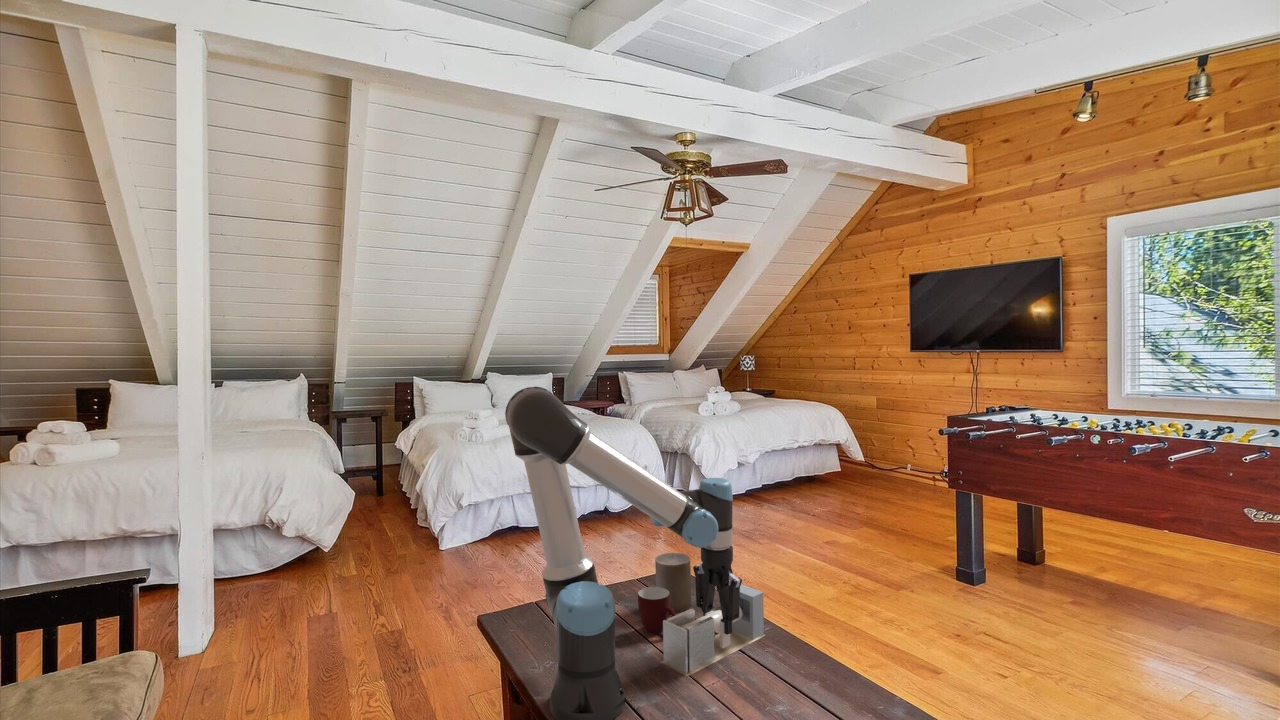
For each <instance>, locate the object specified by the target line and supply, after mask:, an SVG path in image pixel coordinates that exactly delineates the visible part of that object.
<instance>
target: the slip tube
mask: <svg viewBox="0 0 1280 720" xmlns="http://www.w3.org/2000/svg"><path fill="white" fill-rule="evenodd" d="M713 611H714V612H712V613H710V614H708V615H705V616H703V615H702V616H701V617H698V618H695V620H694V621H692V622H690V623H687V624H685V625H683V626H681V628H683V629H685V630H686V628H687V627H689V626H691V625H693V624H696V623H698V622H700V621H702V620H704V619H707V618H709V617H712V618H714V632H715V633H716V632H717V631H718V630H719V631H720V619H723V618H722V611H721V605H719V606H717V607H715V608H714V610H713ZM741 618H742V610H741V608H740V610H739V618H737V619H735V620H733V621H732V625H733V623H734V622H736V621H738V620H740V619H741Z"/></svg>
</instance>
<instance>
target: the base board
mask: <svg viewBox="0 0 1280 720" xmlns="http://www.w3.org/2000/svg"><path fill="white" fill-rule="evenodd" d="M764 637H766V634H763V635H761V636H759V637H757V638H756V639H754V640H753V639H751V638H748V637H746V636H744V635H742V634H739V633H737V632H735V631H732V633H730V645H729V646H727V647H725V648H721V647H720V633H718V634H715V638H714V660H713V661H711V662H709V663H707V664H706V665H704V666H702V667H700V668H698V669H696V670H694V671H692V672H690V673H689V672H688V674H686V675H685V674H684V673H682V672H680V671H678V670H676V669H674V668H672V667H671V666H669V665H667V664H665V663H664V660H662V661H660V663H661V664H663V665H665V666H667V667H669V668H670V669H672V670H674V671H676V672H677V673H679V674H681V675H683V676H685V677H689V676H692V675H693V674H695V673H698V672H699V671H701V670H703V669H705V668H708V667H709V666H711V665H712V664H714V663H716V662H719V661H720V660H721V659H723V658H726V657H727V656H730V655H731V654H733V653H735V652H737V651H739V650H741V649H742V648H745V647H747V646H749V645H750V644H752V643H755V642H756V641H758V640H761V639H762V638H764Z"/></svg>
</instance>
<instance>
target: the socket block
mask: <svg viewBox="0 0 1280 720" xmlns="http://www.w3.org/2000/svg"><path fill="white" fill-rule="evenodd" d="M740 608H741V610H742V618H741V619H740V620H738V621H736V622H734V623H733V625H732V631H735V632H737V633H739V634H742V635H744V636H746V637H748V638H751V639H753V640H754V639H756V638H757V637H759V636H761V635H763V634H764V633H765V632H764V630H765V629H764V623H765V622H764V619H765V616H764V613H765V612H764V611H765V610H764V592H763V591H761V590H758V589H755V588H752V587H749V586H747V585H744V584H742V583H741V586H740ZM764 635H765V634H764Z"/></svg>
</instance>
